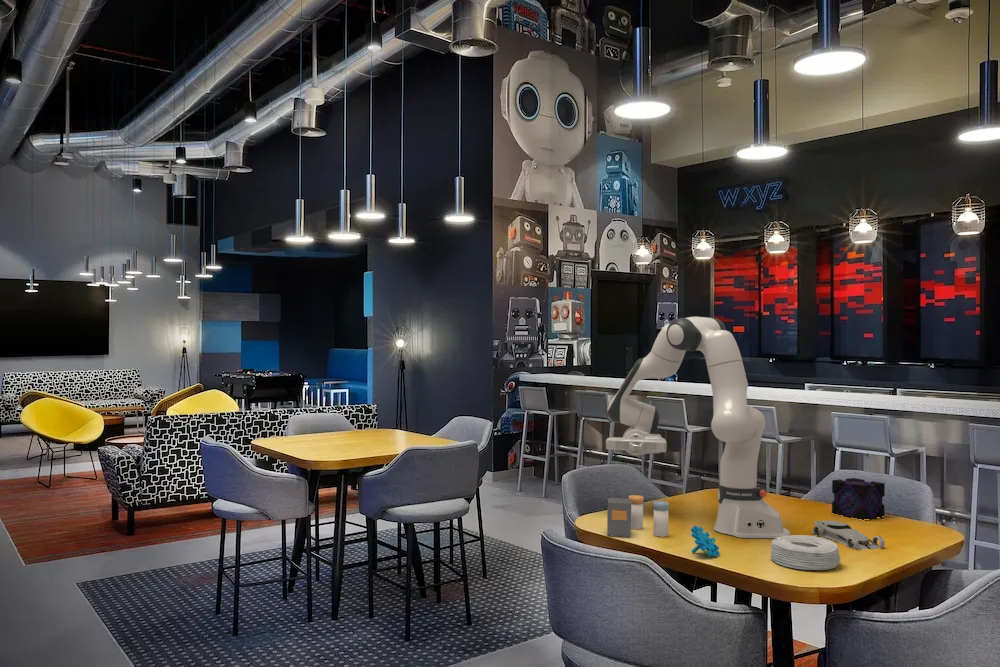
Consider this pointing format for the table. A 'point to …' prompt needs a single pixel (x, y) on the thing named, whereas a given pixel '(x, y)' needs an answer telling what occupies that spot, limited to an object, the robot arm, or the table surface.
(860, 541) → the car model
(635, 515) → the orange cap canister
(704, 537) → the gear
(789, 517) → the table surface
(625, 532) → the box
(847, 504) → the energy cube
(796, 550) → the cable
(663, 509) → the blue cap canister
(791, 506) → the table surface
